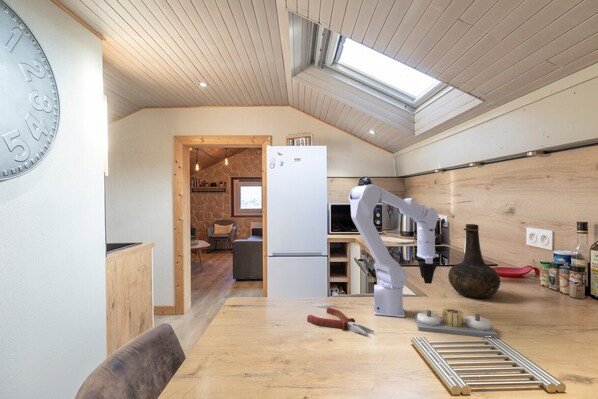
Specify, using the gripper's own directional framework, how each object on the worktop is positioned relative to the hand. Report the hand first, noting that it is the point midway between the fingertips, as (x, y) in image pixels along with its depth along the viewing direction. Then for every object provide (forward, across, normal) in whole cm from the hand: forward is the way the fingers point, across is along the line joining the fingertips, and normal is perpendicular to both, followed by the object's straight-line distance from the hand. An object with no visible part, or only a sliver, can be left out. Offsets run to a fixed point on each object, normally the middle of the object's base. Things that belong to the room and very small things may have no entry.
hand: (426, 280), depth 105 cm
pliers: (+10, -23, +28) cm, 38 cm away
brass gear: (+8, -16, -5) cm, 19 cm away
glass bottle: (+10, +20, -20) cm, 30 cm away
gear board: (+9, -16, -5) cm, 19 cm away
